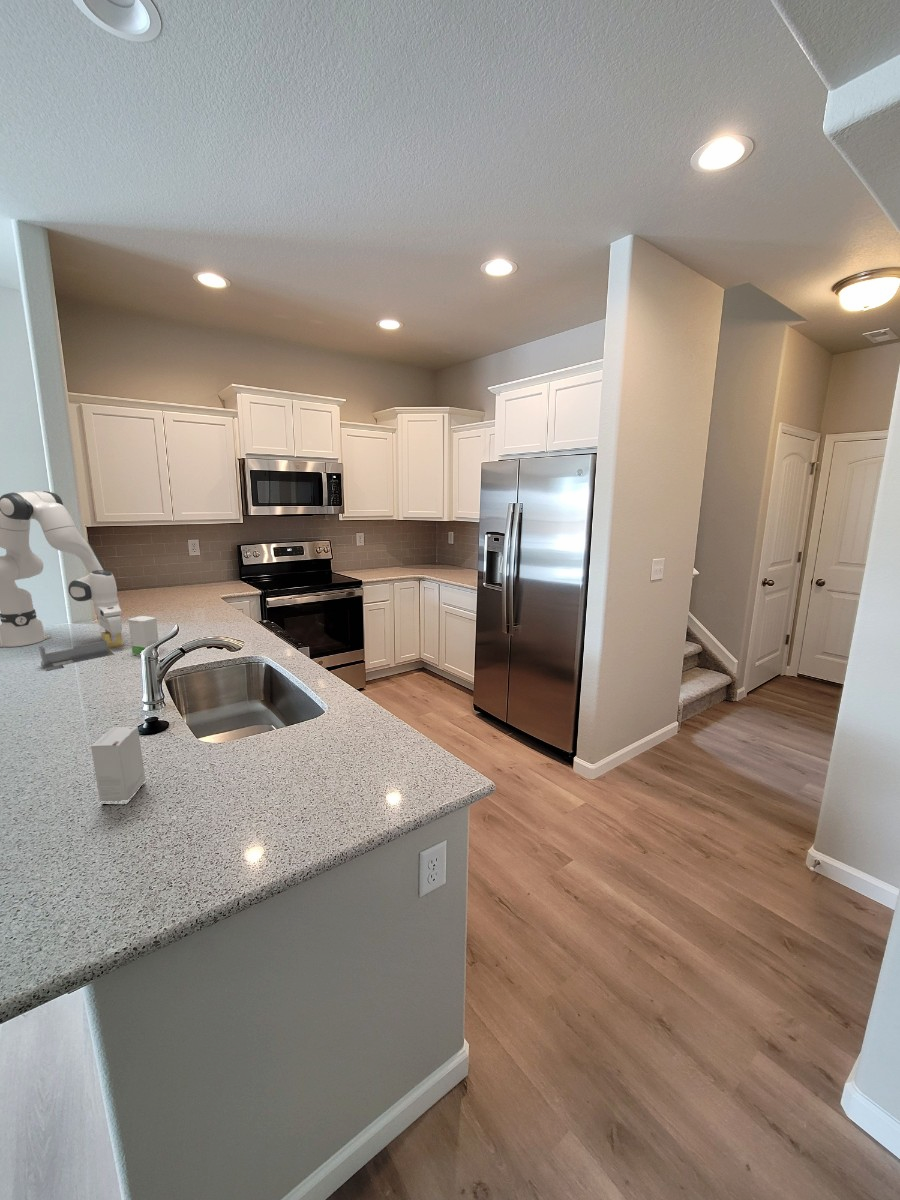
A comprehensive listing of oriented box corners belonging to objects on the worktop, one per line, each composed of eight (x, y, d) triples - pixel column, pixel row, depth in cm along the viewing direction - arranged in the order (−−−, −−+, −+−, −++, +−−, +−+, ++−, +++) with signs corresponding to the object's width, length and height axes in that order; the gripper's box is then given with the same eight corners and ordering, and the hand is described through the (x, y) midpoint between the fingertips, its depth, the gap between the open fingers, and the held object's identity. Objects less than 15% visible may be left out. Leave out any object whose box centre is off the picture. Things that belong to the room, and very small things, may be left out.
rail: (41, 664, 190) (37, 645, 189) (107, 651, 206) (104, 633, 205) (46, 671, 184) (42, 650, 182) (114, 656, 200) (111, 638, 198)
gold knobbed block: (103, 645, 210) (100, 629, 209) (119, 642, 215) (116, 626, 213) (106, 648, 207) (103, 631, 205) (122, 645, 211) (120, 628, 210)
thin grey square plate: (101, 648, 211) (101, 645, 210) (120, 644, 216) (120, 642, 215) (105, 651, 207) (105, 648, 206) (124, 647, 212) (124, 645, 211)
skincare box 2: (131, 655, 201) (126, 619, 198) (145, 650, 207) (140, 615, 204) (147, 657, 199) (142, 620, 195) (161, 652, 205) (156, 616, 202)
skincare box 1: (120, 784, 114) (111, 726, 110) (148, 783, 114) (139, 724, 111) (99, 807, 105) (88, 744, 102) (128, 805, 106) (118, 743, 103)
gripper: (92, 605, 212) (97, 636, 215) (104, 613, 198) (110, 646, 201) (109, 603, 216) (113, 633, 219) (122, 611, 203) (127, 642, 206)
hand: (112, 639), depth 210 cm, fingers closed on gold knobbed block, 5 cm apart
